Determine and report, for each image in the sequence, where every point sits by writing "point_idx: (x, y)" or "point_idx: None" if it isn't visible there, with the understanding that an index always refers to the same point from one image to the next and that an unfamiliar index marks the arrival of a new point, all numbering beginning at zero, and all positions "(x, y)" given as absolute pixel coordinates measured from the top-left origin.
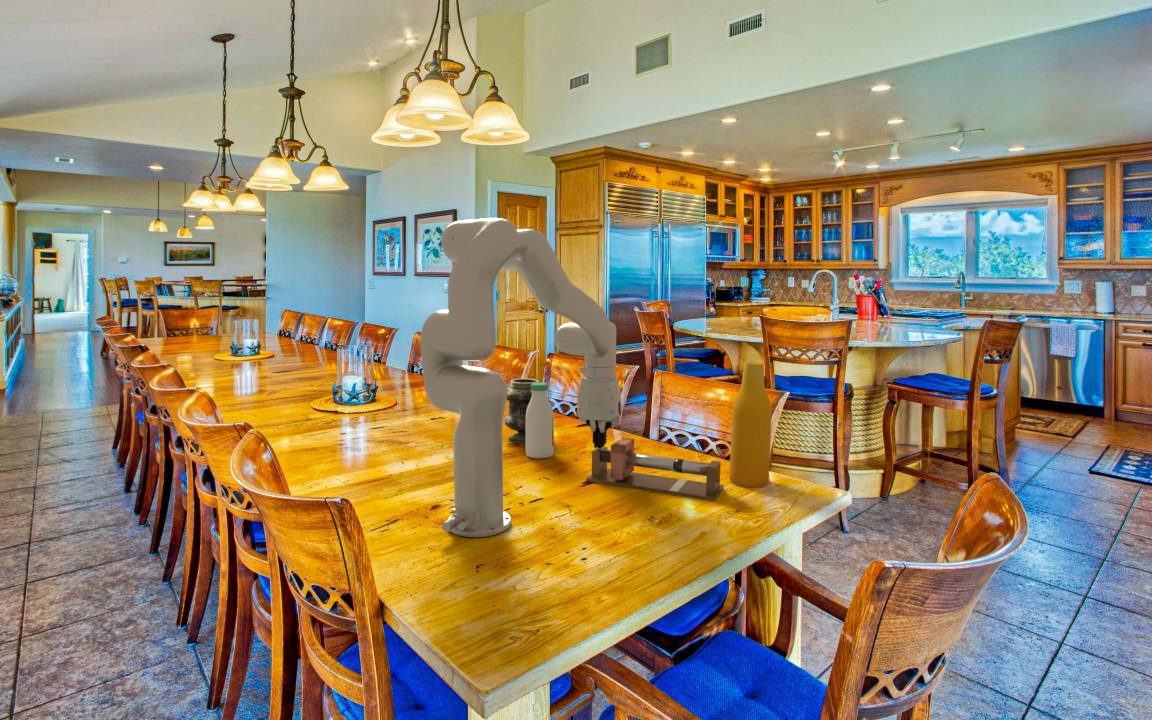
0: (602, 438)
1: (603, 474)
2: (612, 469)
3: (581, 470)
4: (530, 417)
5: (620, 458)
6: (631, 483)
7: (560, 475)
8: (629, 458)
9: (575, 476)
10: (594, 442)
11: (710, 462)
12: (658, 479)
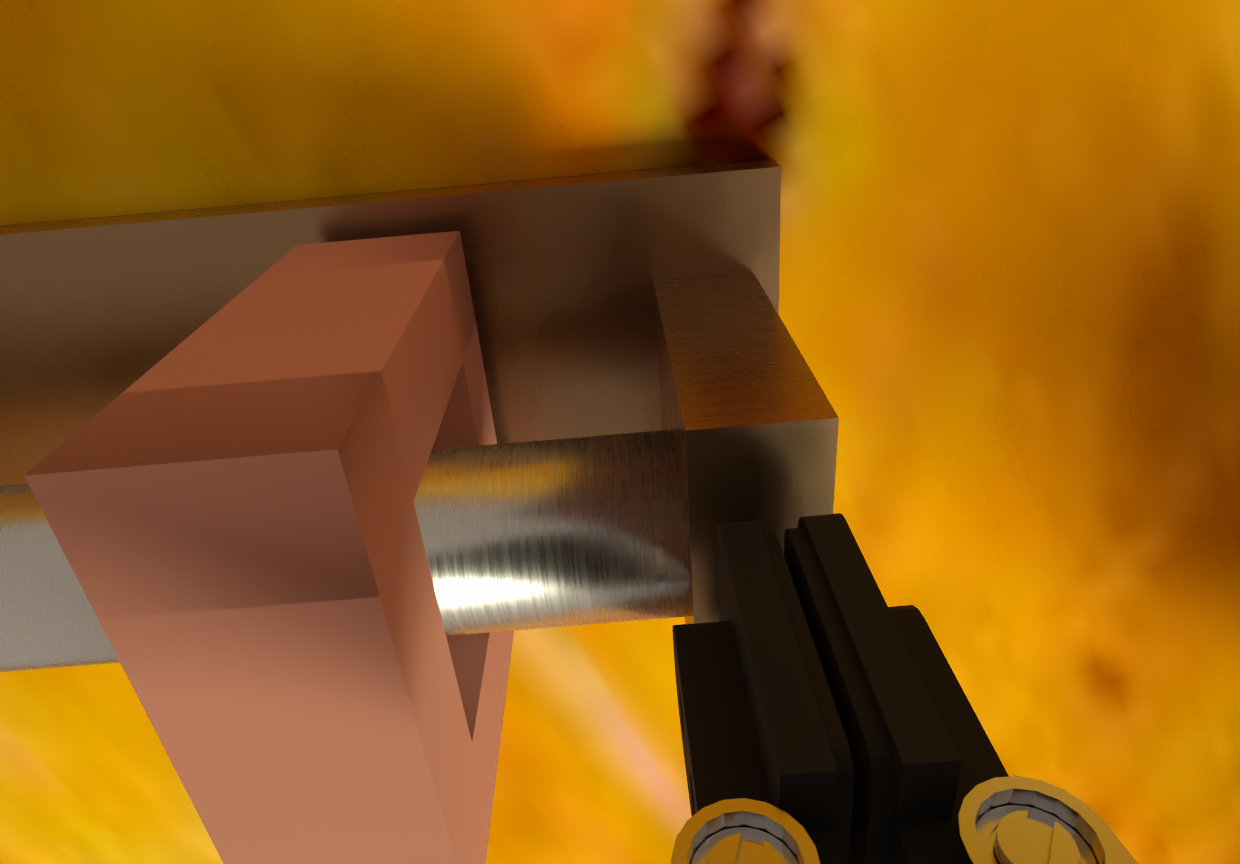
0: (719, 702)
1: (652, 385)
2: (409, 267)
3: (959, 454)
4: None
5: (208, 352)
6: (205, 267)
7: (1147, 192)
8: None
9: (960, 252)
10: (858, 569)
11: None
12: None
